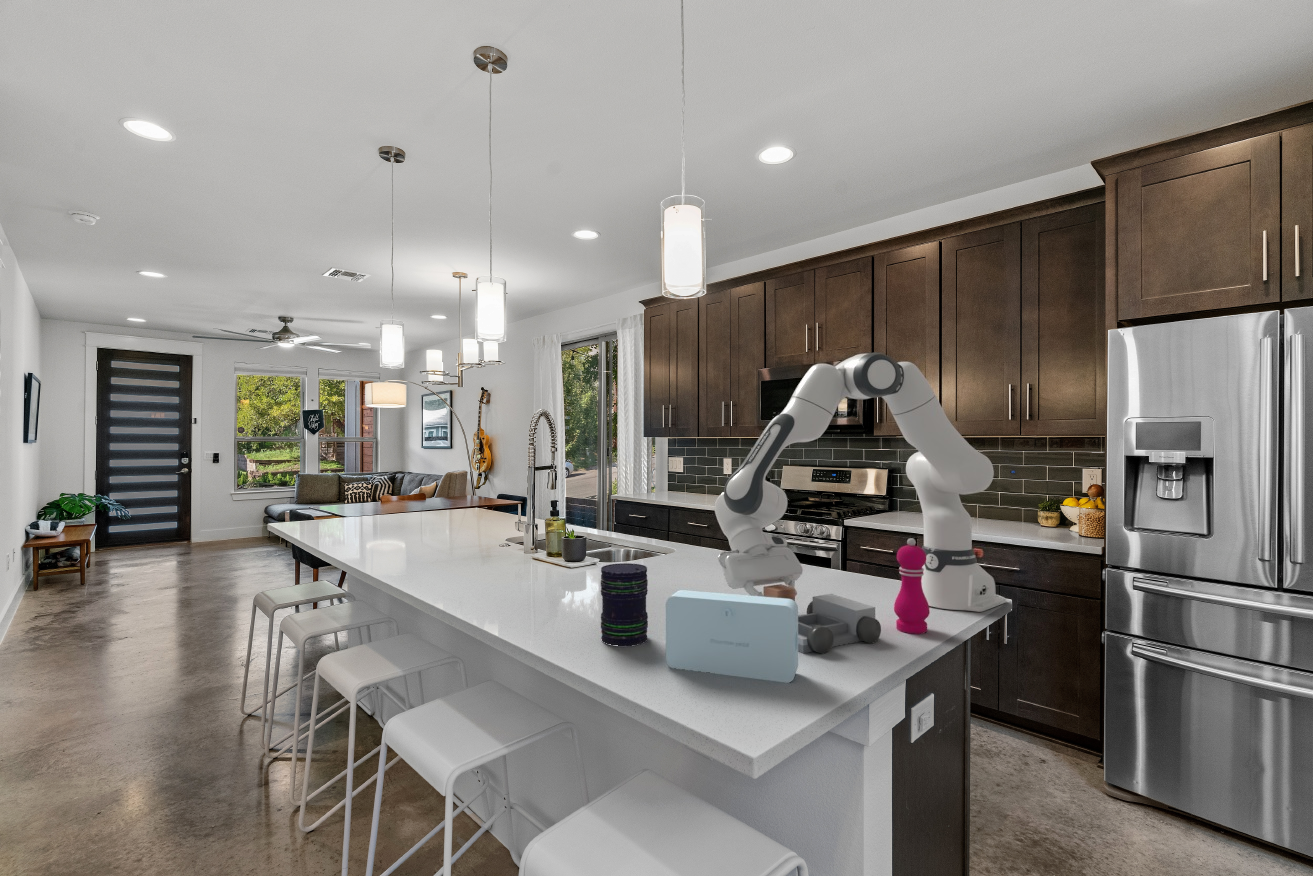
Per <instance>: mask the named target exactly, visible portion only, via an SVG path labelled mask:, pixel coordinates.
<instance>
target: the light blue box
mask: <svg viewBox="0 0 1313 876" xmlns="http://www.w3.org/2000/svg"><path fill="white" fill-rule="evenodd" d="M798 616H799V606H798V603H797V602H796V600H795V601H794V600H792V599H786V598H774V597H761V596H751V595H750V594H748V595H747V594H736V593H735V594H734V593H722V592H709V591H699V590H685V589H680V590H678V591H676V592H675V593H673V594H672V595H670V597H668V598H667V599H666V601H665V662H666V664H667V666H668V667H669V668H670V669H674V668H676V670H682V669H685V670H684V671H690V670H693V671H692V672H698V671H701V672H700V673H706V672H710V673H709V674H714V673H715V675H724V676H733V677H737V678H738V677H739V678H745V679H746V678H747V679H756V680H763V681H770V682H779V683H785V684H786V683H787V684H788V683H790V682H793V680H794V678H795V676H796V673H797V670H798V668H799V651H798Z"/></svg>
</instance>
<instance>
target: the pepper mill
mask: <svg viewBox="0 0 1313 876" xmlns="http://www.w3.org/2000/svg"><path fill="white" fill-rule="evenodd" d="M906 544H907V545H906ZM906 544H905V545H903V546H901V547H899V549H898V551H897V553H896V560H897V562H898V563H899V565H900V567H899V568H898V569H899V574H900V575H901V586H900V590H899V592H898V594H897V596H896V598H895V601H894V605H893V611H894V614H895V615H896V616H897V617H898V619H896V629H897V631H899V630H900V632H902V631H903V632H902V633H905V632H907V633H906V634H911V633H915V634H914V635H921V634H920V633H922V634H925V632H926V633H927V632H928V622H927V621H926V619H927V618H929V615H930V606H929V605H928V602H927V600H926V597H925V595H924V593H923V589H922V582H921V580H922V576H923V575H924V573H923V571H924V569H923V568H922V566H923V565H924V564H925V563H926V554H925V552H924V550H923V549H922V547H920V546H917V545H916V544H917V542H916V539H914V538H911V537H910V538H908V539H907V541H906Z"/></svg>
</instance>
